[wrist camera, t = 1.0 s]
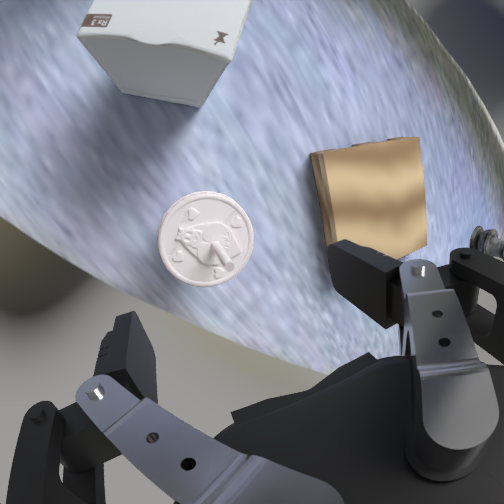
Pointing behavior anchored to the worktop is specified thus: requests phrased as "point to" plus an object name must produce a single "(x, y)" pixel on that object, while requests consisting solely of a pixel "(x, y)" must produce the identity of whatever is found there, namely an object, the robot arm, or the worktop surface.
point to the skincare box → (164, 44)
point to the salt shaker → (487, 242)
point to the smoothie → (205, 239)
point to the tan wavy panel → (373, 195)
